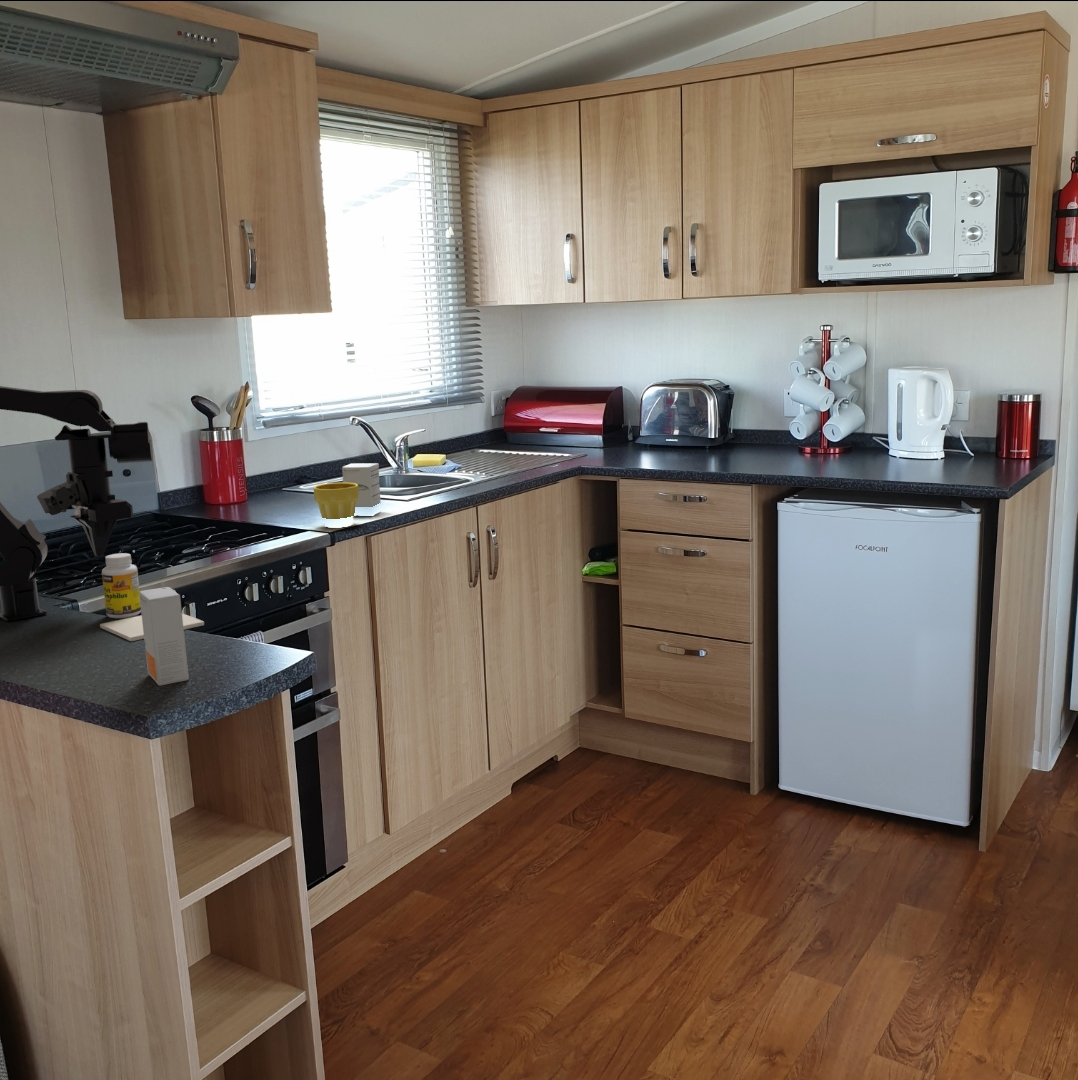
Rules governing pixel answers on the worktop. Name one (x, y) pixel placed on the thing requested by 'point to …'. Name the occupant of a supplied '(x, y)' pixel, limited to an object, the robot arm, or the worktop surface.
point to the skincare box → (164, 635)
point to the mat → (141, 626)
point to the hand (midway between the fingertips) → (99, 555)
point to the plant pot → (336, 499)
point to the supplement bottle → (121, 586)
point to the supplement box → (364, 482)
